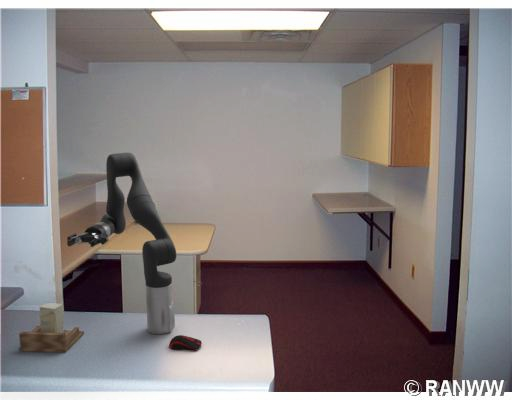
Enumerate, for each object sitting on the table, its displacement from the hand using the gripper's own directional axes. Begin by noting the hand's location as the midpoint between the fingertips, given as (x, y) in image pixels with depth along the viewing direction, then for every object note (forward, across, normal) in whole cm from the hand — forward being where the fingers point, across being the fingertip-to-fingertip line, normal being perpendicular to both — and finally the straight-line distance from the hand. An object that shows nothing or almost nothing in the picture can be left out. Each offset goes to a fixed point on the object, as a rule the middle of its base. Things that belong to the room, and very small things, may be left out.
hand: (80, 244), depth 182 cm
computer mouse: (+16, +42, +31) cm, 55 cm away
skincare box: (+17, -4, +29) cm, 34 cm away
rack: (+17, -4, +30) cm, 35 cm away
